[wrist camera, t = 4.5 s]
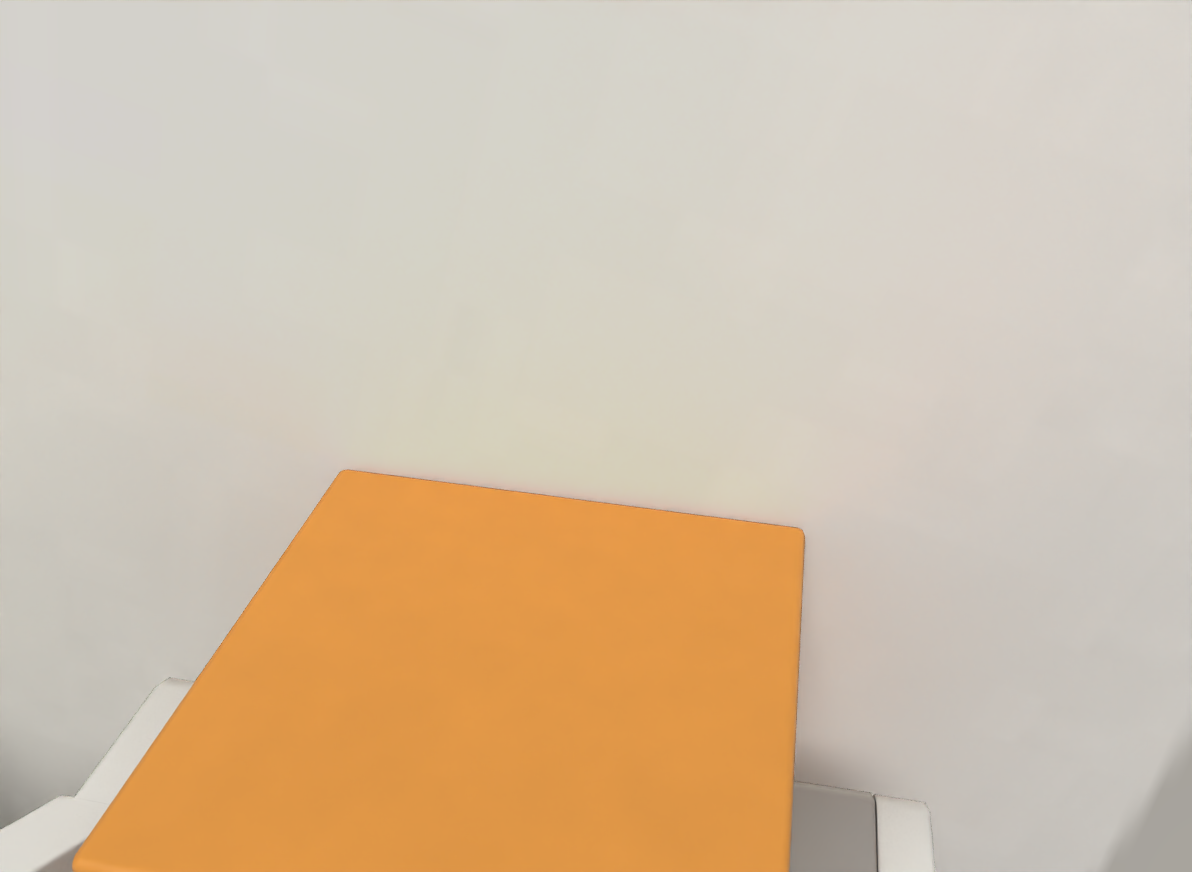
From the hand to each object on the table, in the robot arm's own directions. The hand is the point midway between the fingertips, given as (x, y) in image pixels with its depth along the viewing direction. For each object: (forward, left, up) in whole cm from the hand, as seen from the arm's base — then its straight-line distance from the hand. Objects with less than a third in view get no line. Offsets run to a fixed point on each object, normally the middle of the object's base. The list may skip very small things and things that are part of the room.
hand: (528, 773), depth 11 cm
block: (0, 0, -2) cm, 2 cm away
